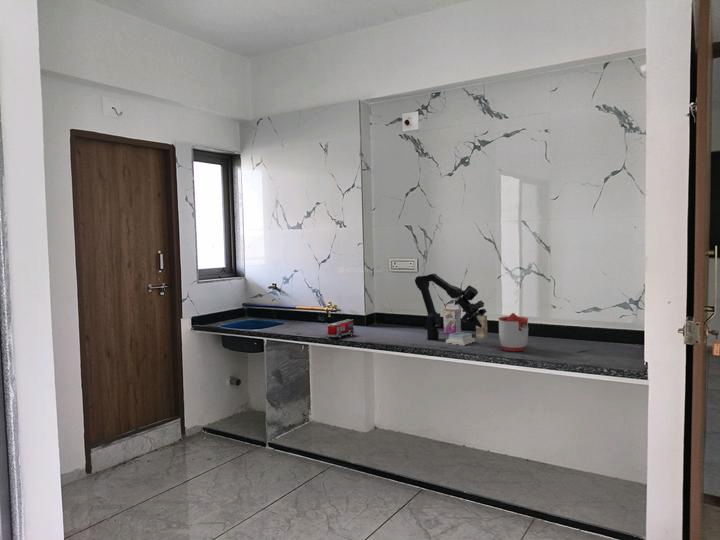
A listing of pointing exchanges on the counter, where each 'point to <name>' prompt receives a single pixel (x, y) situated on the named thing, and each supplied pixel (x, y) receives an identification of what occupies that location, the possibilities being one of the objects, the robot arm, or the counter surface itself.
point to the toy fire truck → (341, 329)
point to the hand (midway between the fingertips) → (483, 326)
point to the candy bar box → (452, 320)
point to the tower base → (460, 338)
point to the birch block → (482, 331)
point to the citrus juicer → (513, 332)
